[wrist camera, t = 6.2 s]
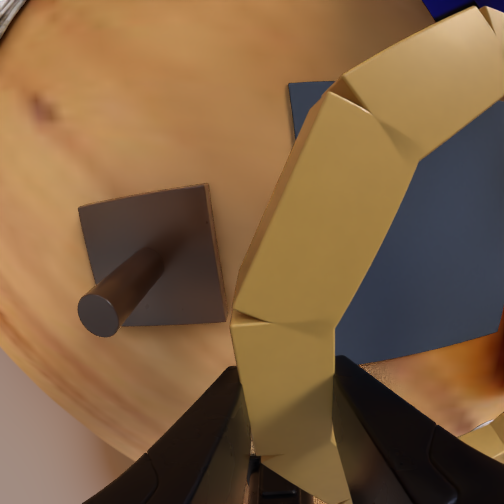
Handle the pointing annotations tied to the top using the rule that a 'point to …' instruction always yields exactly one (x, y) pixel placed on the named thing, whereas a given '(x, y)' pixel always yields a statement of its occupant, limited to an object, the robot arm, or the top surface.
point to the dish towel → (8, 12)
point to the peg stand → (152, 261)
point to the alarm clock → (458, 6)
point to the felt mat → (431, 248)
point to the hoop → (348, 233)
